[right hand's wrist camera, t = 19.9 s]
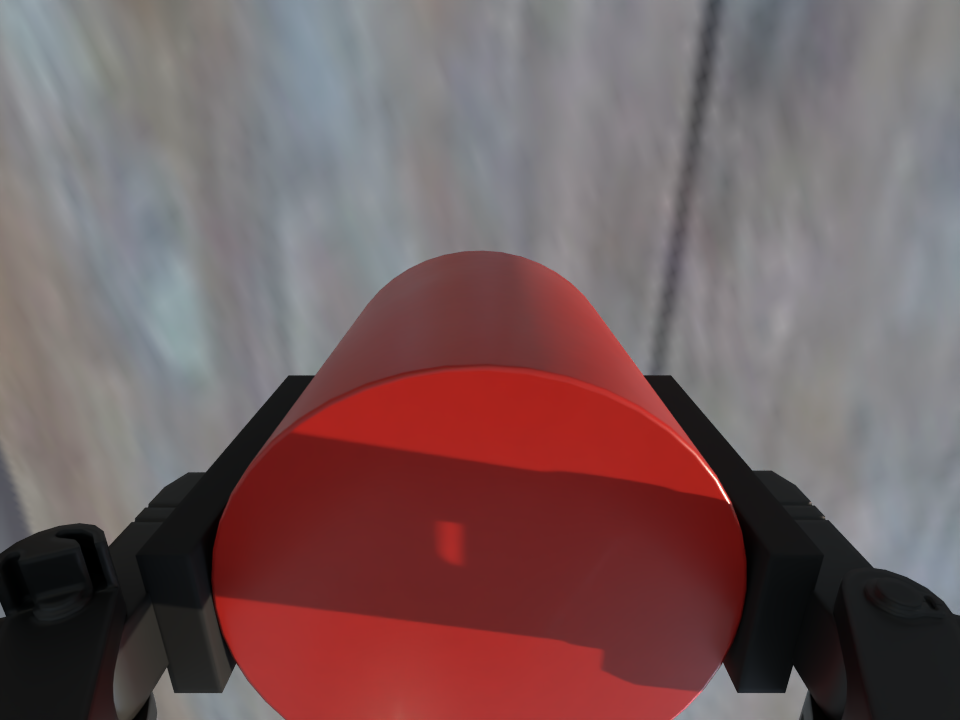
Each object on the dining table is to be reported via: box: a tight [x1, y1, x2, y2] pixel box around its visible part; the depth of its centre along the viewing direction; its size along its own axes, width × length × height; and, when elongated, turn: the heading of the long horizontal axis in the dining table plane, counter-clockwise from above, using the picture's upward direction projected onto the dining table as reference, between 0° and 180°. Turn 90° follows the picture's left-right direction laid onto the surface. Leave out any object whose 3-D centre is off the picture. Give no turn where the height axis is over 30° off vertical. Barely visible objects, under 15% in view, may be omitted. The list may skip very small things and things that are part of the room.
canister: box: [211, 251, 747, 720], centre depth 12 cm, size 8×8×9 cm
